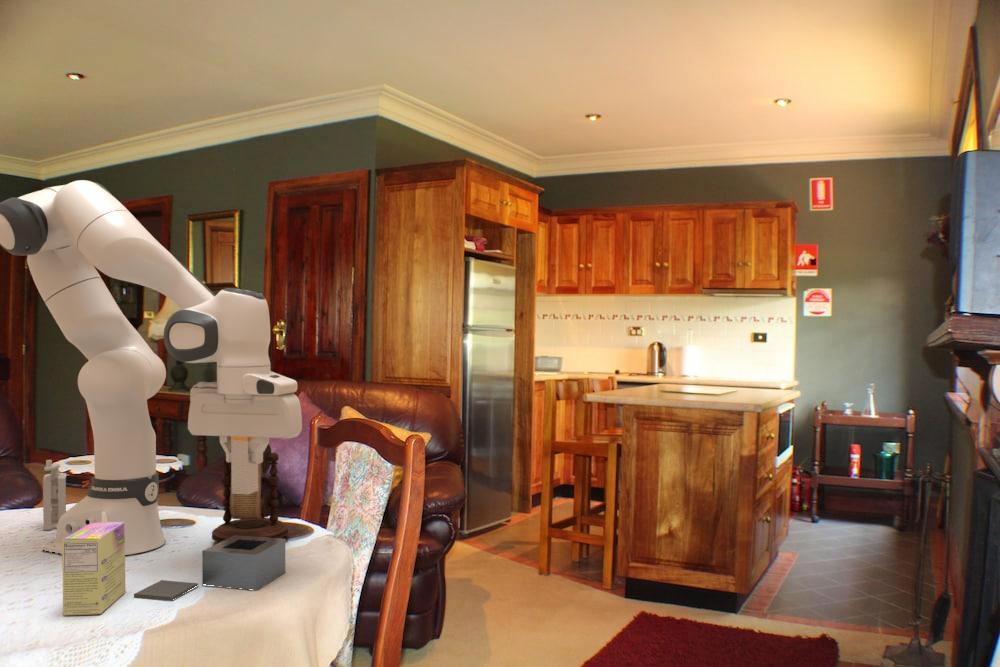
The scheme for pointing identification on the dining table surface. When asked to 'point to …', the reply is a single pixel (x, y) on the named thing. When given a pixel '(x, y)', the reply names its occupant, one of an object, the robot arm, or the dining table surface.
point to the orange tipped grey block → (243, 465)
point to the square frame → (243, 562)
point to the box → (93, 568)
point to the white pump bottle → (53, 495)
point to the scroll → (251, 505)
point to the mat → (165, 590)
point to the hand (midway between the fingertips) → (244, 462)
